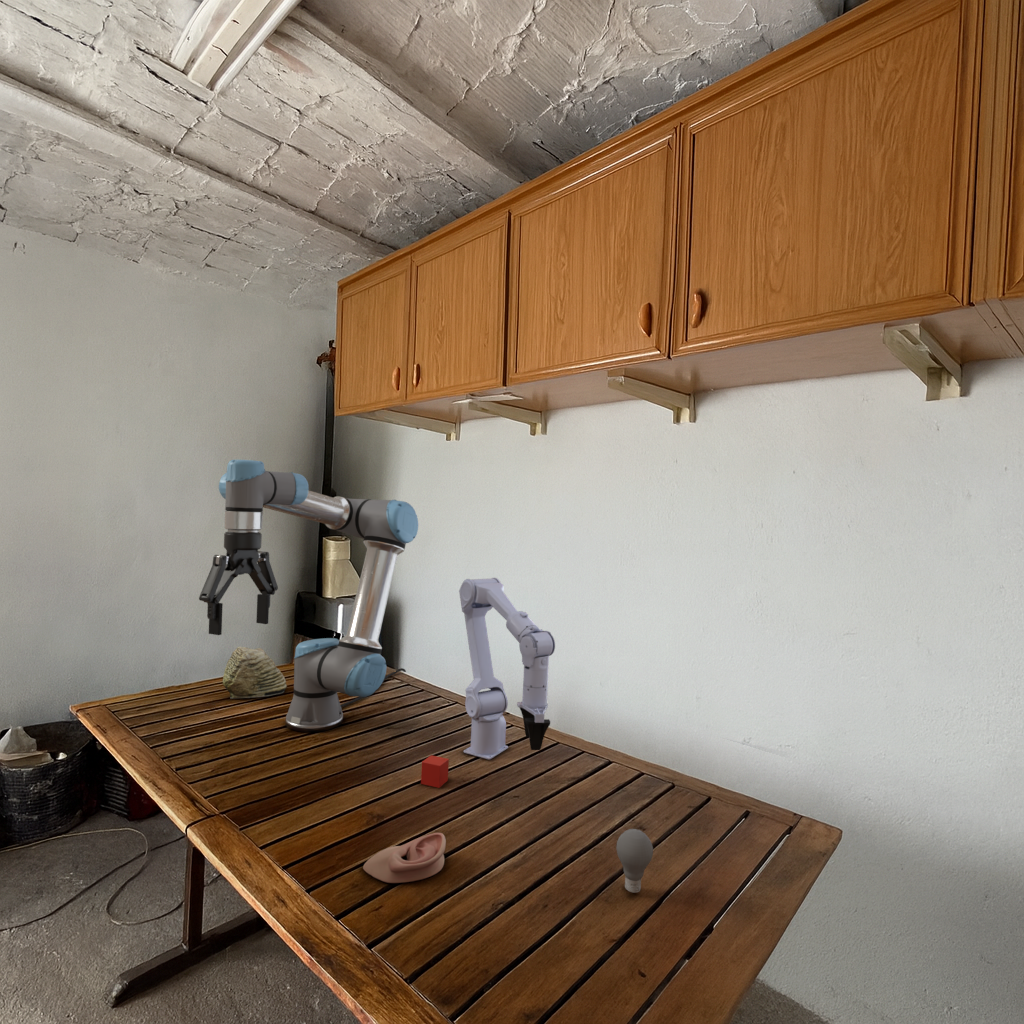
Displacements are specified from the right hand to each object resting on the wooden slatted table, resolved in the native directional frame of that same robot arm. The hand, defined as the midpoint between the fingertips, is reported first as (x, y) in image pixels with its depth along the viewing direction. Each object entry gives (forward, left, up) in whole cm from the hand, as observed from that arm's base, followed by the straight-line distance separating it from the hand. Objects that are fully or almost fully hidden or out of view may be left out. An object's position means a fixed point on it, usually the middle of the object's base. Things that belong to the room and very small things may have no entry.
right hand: (532, 742), depth 146 cm
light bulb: (+28, +34, -9) cm, 44 cm away
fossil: (-3, -100, -9) cm, 100 cm away
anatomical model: (+43, -2, -9) cm, 44 cm away
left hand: (+39, -53, +25) cm, 70 cm away
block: (+14, -18, -9) cm, 24 cm away
